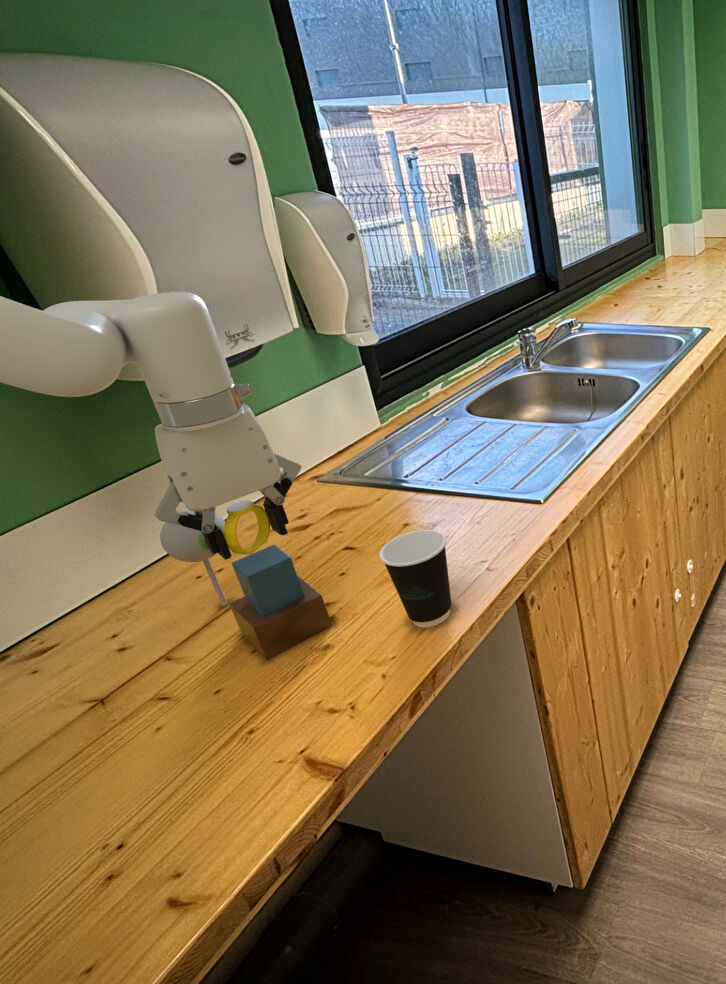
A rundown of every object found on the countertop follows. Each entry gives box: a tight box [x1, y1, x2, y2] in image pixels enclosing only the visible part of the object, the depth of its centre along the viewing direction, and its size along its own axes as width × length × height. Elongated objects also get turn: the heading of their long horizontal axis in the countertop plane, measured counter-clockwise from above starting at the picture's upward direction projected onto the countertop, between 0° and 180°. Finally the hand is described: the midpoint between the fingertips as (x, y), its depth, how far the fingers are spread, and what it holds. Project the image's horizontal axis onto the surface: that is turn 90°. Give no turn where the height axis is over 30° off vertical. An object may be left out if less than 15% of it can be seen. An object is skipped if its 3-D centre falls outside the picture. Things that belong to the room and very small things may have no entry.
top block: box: [231, 544, 305, 616], centre depth 88 cm, size 5×5×6 cm
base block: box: [228, 574, 333, 661], centre depth 90 cm, size 8×8×5 cm
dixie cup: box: [378, 529, 452, 628], centre depth 90 cm, size 8×8×11 cm
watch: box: [224, 500, 271, 555], centre depth 84 cm, size 6×3×6 cm, turn 177°
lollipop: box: [159, 508, 228, 607], centre depth 93 cm, size 7×7×15 cm
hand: (252, 541), depth 85 cm, fingers closed on watch, 5 cm apart
